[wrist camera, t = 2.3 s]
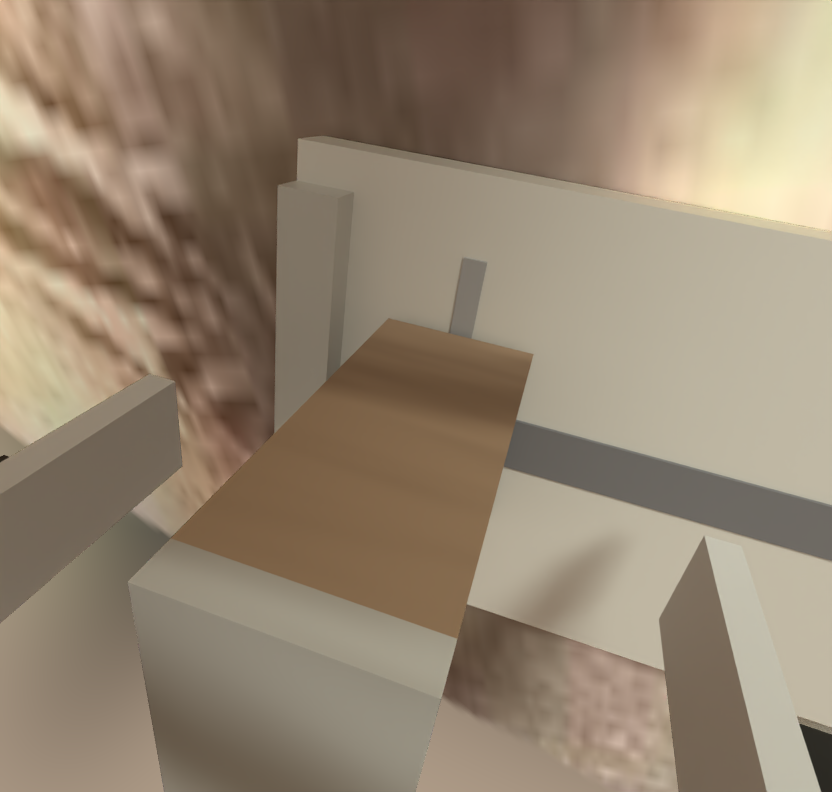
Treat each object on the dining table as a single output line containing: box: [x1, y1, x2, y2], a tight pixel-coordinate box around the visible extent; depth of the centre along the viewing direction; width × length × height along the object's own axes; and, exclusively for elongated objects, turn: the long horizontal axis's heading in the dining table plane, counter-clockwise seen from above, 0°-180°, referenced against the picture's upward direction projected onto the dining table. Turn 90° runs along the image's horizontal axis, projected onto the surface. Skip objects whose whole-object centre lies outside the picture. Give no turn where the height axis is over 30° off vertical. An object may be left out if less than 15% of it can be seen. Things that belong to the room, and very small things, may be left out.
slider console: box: [274, 136, 832, 727], centre depth 15 cm, size 14×30×2 cm, turn 81°
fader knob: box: [128, 318, 534, 792], centre depth 12 cm, size 6×4×10 cm, turn 171°
